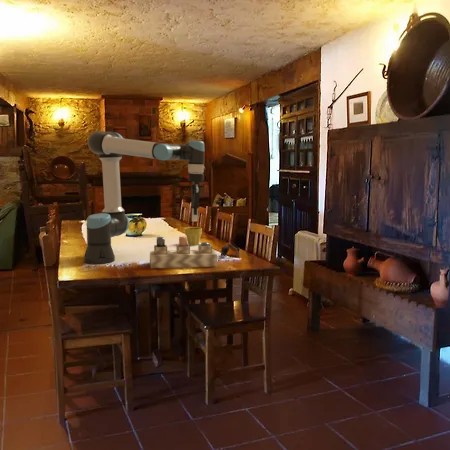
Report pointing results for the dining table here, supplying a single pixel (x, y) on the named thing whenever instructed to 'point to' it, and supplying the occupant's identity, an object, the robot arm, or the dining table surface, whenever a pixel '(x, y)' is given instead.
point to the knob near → (160, 241)
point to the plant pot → (193, 235)
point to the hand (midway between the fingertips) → (194, 221)
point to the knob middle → (182, 241)
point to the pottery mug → (231, 246)
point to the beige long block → (183, 257)
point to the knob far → (204, 244)
